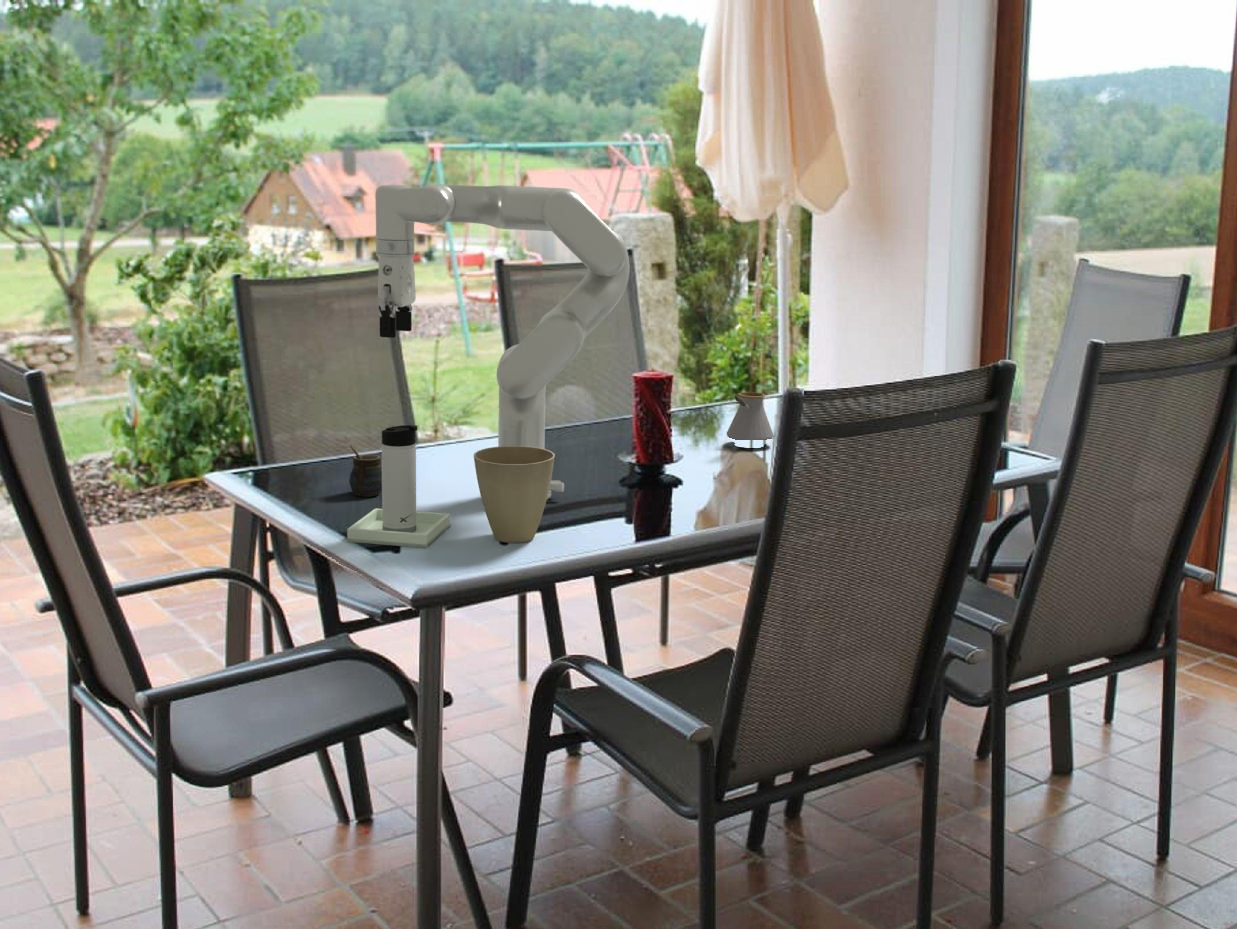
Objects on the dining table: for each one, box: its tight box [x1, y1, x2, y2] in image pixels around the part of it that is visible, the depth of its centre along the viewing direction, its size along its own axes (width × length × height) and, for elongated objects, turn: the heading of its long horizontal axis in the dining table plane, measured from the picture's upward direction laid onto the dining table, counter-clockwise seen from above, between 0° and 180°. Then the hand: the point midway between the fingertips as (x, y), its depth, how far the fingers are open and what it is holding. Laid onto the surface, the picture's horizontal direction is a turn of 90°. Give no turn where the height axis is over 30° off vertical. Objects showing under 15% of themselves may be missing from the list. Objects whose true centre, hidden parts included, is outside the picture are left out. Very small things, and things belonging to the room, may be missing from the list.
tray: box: [346, 508, 452, 549], centre depth 260 cm, size 15×15×2 cm
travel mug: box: [381, 424, 418, 533], centre depth 258 cm, size 6×7×20 cm
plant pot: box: [473, 446, 556, 544], centre depth 258 cm, size 15×15×16 cm
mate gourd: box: [348, 445, 382, 498], centre depth 287 cm, size 7×8×10 cm
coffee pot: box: [726, 391, 774, 440], centre depth 337 cm, size 21×12×15 cm, turn 159°
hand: (396, 333), depth 281 cm, fingers open, 9 cm apart
